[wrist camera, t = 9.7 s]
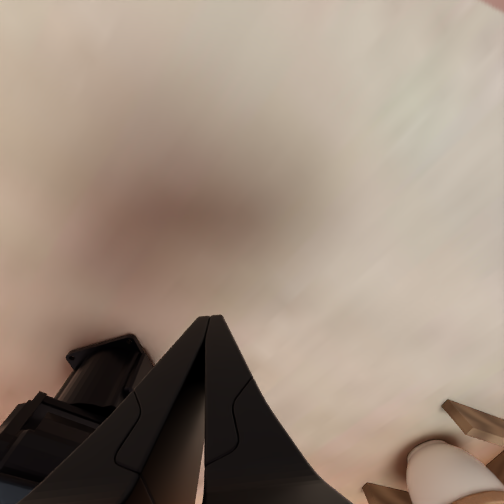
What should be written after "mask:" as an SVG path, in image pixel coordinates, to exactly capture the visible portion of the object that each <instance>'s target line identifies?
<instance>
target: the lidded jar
mask: <svg viewBox="0 0 504 504" xmlns="http://www.w3.org/2000/svg"><path fill="white" fill-rule="evenodd" d="M407 463H408V466H407V471H406V481H407V488H408V492H409V495H410V498H411V501H412V504H504V485H503V484H502V483H501V481H500V480H499V479H498V478H497V477H496V476H495V475H494V474H493V473H492V472H491V471H490V470H489V469H488V468H487V467H486V466H485V465H484V464H483V463H482V462H481V461H480V460H478V459H477V458H476V457H474V456H473V455H471V454H470V453H469V452H467V451H465V450H463V449H461V448H459V447H456V446H454V445H450V444H448V443H447V442H445V441H443V440H430V441H427V442H424V443H422V444H420V445H418V446H417V447H415V448H414V449H413V450H412V451H411V452H410V453H409V455H408V457H407Z"/></svg>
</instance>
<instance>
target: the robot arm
mask: <svg viewBox="0 0 504 504" xmlns="http://www.w3.org/2000/svg"><path fill="white" fill-rule="evenodd" d="M129 340H131V341H129ZM72 356H73V357H72ZM66 360H67V361H68V362H69V364H70V365H71V367H72V368H73V369H74V370H73V372H72V373H71V375H70V376H69V378H68V379H67V380H66V382H65V383H64V385H63V386H62V388H61V389H60V390H59V392H58V393H57V395H56V396H55V398H52V397H49V396H47V394H46V393H43V392H40V391H39V393H38V394H37V395H36V396H35V397H34V399H33V400H32V401H31V400H28V402H27V403H23V404H18V405H17V407H16V408H15V409H14V410H13V411H12V413H11V414H10V415H9V416H8V418H7V419H6V420H5V421H4V422H3V424H2V425H1V426H0V504H195V499H196V492H197V486H198V479H199V472H200V465H201V459H202V452H203V445H204V438H205V446H204V466H205V471H204V495H203V502H202V504H353V503H352V502H350V501H349V500H348V499H346V498H345V497H344V496H343V495H341V494H340V493H339V492H338V491H336V490H335V489H334V488H333V487H331V486H330V485H329V484H327V483H326V482H325V481H324V480H323V479H322V478H321V477H320V476H319V475H318V474H317V473H316V472H315V471H314V469H313V468H312V467H311V466H310V464H309V463H308V462H307V460H306V459H305V458H304V456H303V455H302V453H301V452H300V451H299V449H298V448H297V446H296V445H295V443H294V442H293V441H292V439H291V438H290V436H289V435H288V433H287V432H286V431H285V429H284V428H283V426H282V425H281V423H280V422H279V421H278V419H277V418H276V416H275V415H274V413H273V412H272V410H271V409H270V407H269V405H268V404H267V402H266V401H265V399H264V397H263V395H262V393H261V391H260V390H259V388H258V386H257V384H256V382H255V380H254V379H253V376H252V374H251V372H250V370H249V368H248V366H247V364H246V362H245V360H244V358H243V356H242V354H241V352H240V350H239V348H238V346H237V344H236V342H235V340H234V338H233V336H232V334H231V332H230V330H229V328H228V326H227V323H226V321H225V319H224V317H223V316H222V315H212V316H211V317H210V316H201V317H198V318H197V319H196V320H195V321H194V322H193V323H192V324H191V326H190V327H189V328H188V329H187V330H186V331H185V332H184V333H183V335H182V336H181V337H180V338H179V339H178V340H177V341H176V342H175V344H174V345H173V346H172V347H171V348H170V349H169V350H168V351H167V353H166V354H165V355H164V356H163V357H162V358H161V359H160V360H159V362H158V363H157V364H156V365H155V366H154V367H153V366H152V364H151V362H150V360H149V358H148V356H147V355H146V353H144V351H143V349H142V348H141V346H140V344H139V342H138V340H137V339H136V337H135V336H134V335H126V336H122V337H119V338H115V339H112V340H108V341H105V342H101V343H98V344H94V345H91V346H87V347H84V348H80V349H77V350H73V351H70V352H69V353H68V354H67V356H66Z"/></svg>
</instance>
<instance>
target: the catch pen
mask: <svg viewBox="0 0 504 504" xmlns="http://www.w3.org/2000/svg"><path fill="white" fill-rule="evenodd" d="M442 407H443V409H444V410H445V411H446V412H447V413H448V414H449V416H450V417H451V418H452V419H453V420H454V422H455V423H456V424H457V425H458V426H459V427H460V429H461V430H462V431H463V432H464V433H465V434H466V435H468V436H471V437H474V438H477V439H480V440H484V441H487V442H490V443H493V444H496V445H499V446H502V447H504V420H503V419H500V418H497V417H494V416H492V415H489V414H486V413H483V412H481V411H478V410H475V409H472V408H470V407H467V406H464V405H461V404H459V403H456V402H453V401H450V400H447V401H446V402H445V403H444V404H443V405H442ZM486 467H487V468H488V469H489V470H490V471H491V472H492V473H493V474H494V475H495V476H496V477H497V478H498V479H499V480H500V481H501V483H502V484H503V485H504V451H503V452H502V453H501V454H500V455H498V456H497V457H496V458H495V459H494V460H493V461H492V462H490V463H489V464H488V465H487V466H486ZM363 491H364V493H365V496H366V498H367V501H368V503H369V504H412V501H411V498H410V495H409V492H405V491H401V490H397V489H392V488H388V487H383V486H379V485H374V484H370V483H367V484H366V485H365V486H364V487H363Z"/></svg>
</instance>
